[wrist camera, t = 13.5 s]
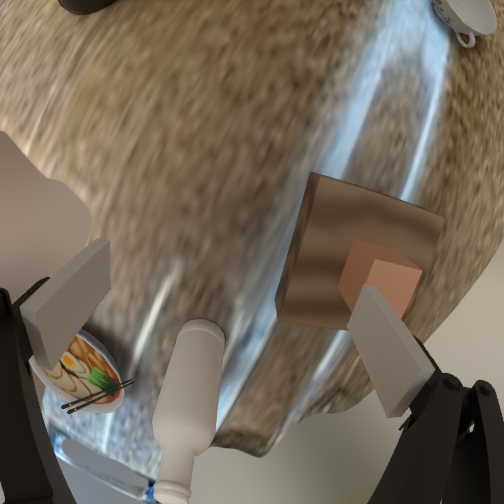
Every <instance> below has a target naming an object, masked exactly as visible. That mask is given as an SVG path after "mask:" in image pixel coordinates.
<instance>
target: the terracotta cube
mask: <svg viewBox="0 0 504 504" xmlns="http://www.w3.org/2000/svg"><path fill="white" fill-rule="evenodd" d="M421 274H422V270H421V269H420V268H419V267H418V266H417V265H415V264H414V263H413V262H412V261H411V260H409V259H408V258H407V257H406V256H404V255H403V254H402V253H401V252H400V251H398V250H396V249H392V248H388V247H385V246H381V245H377V244H373V243H369V242H365V241H361V240H358V239H354V240H353V243H352V246H351V249H350V252H349V255H348V258H347V261H346V264H345V266H344V269H343V272H342V275H341V278H340V280H339V283H338V286H337V288H338V290H339V291H340V293H341V295H342V297H343V298H344V300H345V302H346V304H347V305H348V307H349V309H350V311H351V313H352V312H353V310H354V308H355V305H356V303H357V300H358V297H359V295H360V292H361V290H362V287H363V284H368V285H374V286H376V287H377V288H378V289H379V291H380V292H381V293H382V295H383V296H384V297H385V299H386V300H387V301H388V303H389V304H390V305H391V307H392V308H393V309H394V311H395V312H396V313H397V315H398V316H399V317H400V319H401V318H402V316H403V314H404V312H405V310H406V308H407V306H408V303H409V301H410V299H411V297H412V295H413V292H414V290H415V288H416V285H417V283H418V281H419V278H420V276H421Z"/></svg>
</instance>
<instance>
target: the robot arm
mask: <svg viewBox="0 0 504 504" xmlns="http://www.w3.org/2000/svg"><path fill="white" fill-rule="evenodd" d="M114 1H116V0H58V2H59V4H60V5H61V6H62V7H63V8H64V9H66V10H68V11H69V12H71V13H74V14H88V13H92V12H95V11H98V10H100V9H102V8H104V7H106V6H108V5H110V4H111V3H113V2H114ZM110 289H111V275H110V241H109V240H103V239H98V238H97V239H96V240H95V241H93V242H92V243H91V244H90V245H88V246H87V247H86V248H85V249H84V250H82V251H81V252H80V253H79V254H77V255H76V256H75V257H74V258H73V259H72V260H70V261H69V262H68V263H67V264H66V265H65V266H63V267H62V268H61V269H60V270H59V271H58V272H57V273H55V274H54V275H53V276H52V277H51V278H50V277H46V278H44V279H41V280H39V281H38V282H36V283H35V284H34V285H33V286H32V287H31V288H30V289H29V290H28V291H26V293H24V294H23V295H22V296H21V297H20V298H19V299H18V300H17V301H16V302H14V303H13V304H12V305H11V300H10V297H9V293H8V291H7V290H6V289H4V288H0V482H1V485H2V489H3V492H4V496H5V502H4V503H3V504H77V503H76V501H75V499H74V497H73V495H72V493H71V491H70V489H69V487H68V485H67V482H66V480H65V478H64V475H63V473H62V471H61V469H60V466H59V464H58V461H57V458H56V456H55V453H54V450H53V447H52V445H51V442H50V439H49V436H48V433H47V430H46V427H45V423H44V420H43V416H42V413H41V409H40V406H39V402H38V398H37V394H36V390H35V385H34V380H33V376H32V371H31V366H30V363H29V359H30V358H31V357H32V355H34V358H35V361H36V364H37V366H40V367H42V368H44V369H47V370H49V371H53V369H54V368H55V366H56V365H57V363H58V362H59V360H60V359H61V357H62V356H63V354H64V353H65V351H66V350H67V348H68V347H69V345H70V344H71V342H72V341H73V339H74V338H75V337H76V335H77V334H78V332H79V331H80V329H81V328H82V327H83V325H84V324H85V322H86V321H87V320H88V318H89V317H90V316H91V314H92V313H93V312H94V310H95V309H96V307H97V306H98V305H99V303H100V302H101V301H102V299H103V298H104V297H105V296H106V294H107V293H108V292H109V290H110ZM347 328H348V330H349V332H350V335H351V337H352V339H353V341H354V343H355V345H356V348H357V350H358V352H359V354H360V356H361V359H362V361H363V363H364V365H365V367H366V370H367V372H368V374H369V376H370V379H371V381H372V383H373V386H374V388H375V390H376V393H377V395H378V397H379V400H380V402H381V404H382V407H383V409H384V411H385V414H386V416H387V418H392V417H401V416H402V415H403V414H404V413H405V411H406V410H407V409H408V407H409V408H410V410H411V412H412V414H411V415H410V416H409V417H408V418H407V420H406V421H405V422H404V423H403V425H402V426H401V427H400V428H399V430H401V429H402V428H403V427H404V429H403V431H402V434H401V436H400V439H399V441H398V444H397V446H396V448H395V450H394V453H393V455H392V457H391V460H390V462H389V463H388V466H387V468H386V470H385V472H384V474H383V476H382V478H381V480H380V482H379V484H378V485H377V487H376V489H375V491H374V493H373V495H372V496H371V498H370V500H369V502H368V503H367V504H440V502H441V499H442V504H504V422H503V417H502V413H501V409H500V406H499V402H498V399H497V395H496V392H495V390H494V388H493V387H492V385H491V384H490V383H488V382H486V381H484V380H478V381H476V383H475V384H474V385H473V387H472V388H467V387H463V385H462V383H461V382H460V380H459V379H458V378H457V377H455V376H454V375H452V374H449V373H442V372H441V370H440V369H439V367H438V366H437V364H436V363H435V361H434V360H433V358H432V357H431V356H430V355H429V353H428V351H427V350H426V348H425V347H424V345H423V344H422V342H421V341H420V340H419V339H418V338H416V337H415V336H414V335H412V334H411V333H410V331H409V330H408V329H407V327H406V326H405V324H404V323H403V322H402V320H401V319H400V317H399V316H398V315H397V313H396V312H395V311H394V309H393V308H392V307H391V305H390V304H389V303H388V301H387V300H386V299H385V297H384V296H383V295H382V293H381V292H380V291H379V289H378V288H377V287H376V286H374V285H368V284H363V287H362V290H361V292H360V295H359V297H358V300H357V303H356V305H355V308H354V310H353V312H352V315H351V317H350V320H349V322H348V324H347ZM473 424H474V428H473V431H472V432H470V429H469V428H470V427H471V426H472V425H473Z"/></svg>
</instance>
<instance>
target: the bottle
mask: <svg viewBox="0 0 504 504" xmlns="http://www.w3.org/2000/svg"><path fill="white" fill-rule="evenodd" d="M224 341H225V338H224V333H223V331H222V330H221V329H220V327H219V326H218V325H216V324H215V323H213V322H211V321H208V320H206V319H194V320H190V321H188V322H187V323H185V324H184V325H183V326H182V328H181V329H180V332H179V334H178V336H177V339H176V344H175V347H174V350H173V353H172V356H171V360H170V363H169V366H168V369H167V372H166V375H165V379H164V382H163V385H162V388H161V392H160V395H159V398H158V402H157V405H156V408H155V412H154V415H153V419H152V421H153V433H154V438H155V440H156V441H157V443H158V444H159V445H160V446H161V447H162V448H163V453H162V457H161V462H160V467H159V471H158V476H157V481H156V483H155V484H154V498H155V499H156V500H157V501H159V502H161V503H164V504H188V502H189V497H190V496H191V490H190V486H191V478H192V470H193V462H194V456H196V455H199V454H201V453H203V452H204V451H205V450H207V449H208V447H209V445H210V444H211V442H212V440H213V438H214V435H215V430H216V420H217V409H218V399H219V389H220V379H221V370H222V360H223V352H224V348H225V343H224Z"/></svg>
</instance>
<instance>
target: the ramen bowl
mask: <svg viewBox="0 0 504 504" xmlns="http://www.w3.org/2000/svg"><path fill="white" fill-rule="evenodd" d="M29 362H30V364H31V366H32V368H33V370H34V372H35V373H36V374H37V376H38V377H39V378H40V379H41V381H42V382H43V383H44V384H45V385H46V387H48V388H49V389H50V390H51V391H52V392H54V393H55V394H56V395H57V396H59V397H60V398H61V399H62V400H64V401H66V402H68V404H65V405H62V406H61V408H62V409H65V408H67V407H70V406H72V405H73V406H75V407H76V408H73V409H71V410H68V411H67V413H68V414H71V413H73V412H75V411H77V410H79V409H82V410H86V411H90V412H94V413H109V412H113V411H114V410H116V409H117V408H119V407H120V406H121V405H122V403H123V398H124V394H125V390H124V387H126V386H128V385H130V384H132V383H134V381H133V382H131V383H129V384H127V385H125V386H124V385H123V384H124V383H127V382H129V381H131V380H132V379H131V380H128V381H126V382H122V379H121V376H120V373H119V370H118V367H117V364H116V362H115V360H114V359H113V358H112V356H111V355H110V353H109V352H108V350H107V349H106V348H105V346H104V345H103V344H102V343H100V342H99V341H98V340H97V339H96V338H95V337H93V336H92V335H91V334H90V333H88V332H86V331H84V330H82V329H80V331H79V332H78V334H77V335H76V337H75V338H74V339H73V341H72V342H71V344H70V345H69V347H68V348H67V350H66V351H65V353H64V354H63V356H62V357H61V359H60V360H59V362H58V363H57V365H56V366H55V368H54V369H53V371H49V370H47V369H44V368H42V367H40V366H37V364H36V361H35V358H34V355H32V357H31V358H30V359H29Z"/></svg>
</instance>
